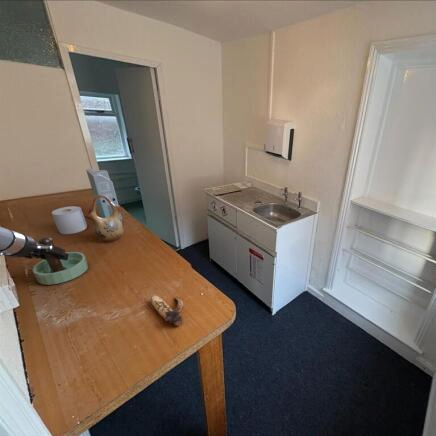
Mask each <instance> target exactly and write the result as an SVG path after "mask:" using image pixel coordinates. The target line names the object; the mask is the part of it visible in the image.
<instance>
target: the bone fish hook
mask: <svg viewBox="0 0 436 436" xmlns="http://www.w3.org/2000/svg"><path fill="white" fill-rule="evenodd" d="M174 300H175V301H176V302H177V306H176V307H175V308H174V309H173V308H171V306H170V305H169V304H168V303H166V302H165V301H164V299H162V298H161V297H159V295H157V294H154V295H152V296H151V297H150V303H151V305H152V306H153V307H154V309H155V310H156V311H157V313H158V314H159V315H160V316H161V317H162V318H163V319H164V322H167V323H169V324H171V325H172V324H173V325H174V326H175V327H179V326H181V325H182V322H183V320H182V317H183V316H182V315H180V313H181V312H182V311H183V308H184V302H183V300H182V299H180V298H179V297H174Z"/></svg>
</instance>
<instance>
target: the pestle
mask: <svg viewBox="0 0 436 436" xmlns="http://www.w3.org/2000/svg"><path fill="white" fill-rule="evenodd" d="M37 243H38V244H41V245H45V246H47V245H49V244H54V241H53V239H52V238H51V237H49V236H43V237H40V238H39V240H38V242H37ZM44 256H45V258H46V260H47V263H48V265H49V267H50V269H51V271H50V273H55V272H59V271H62V270H65V269H67V268H66V267H63V265H62V263H61V260H60V259H56V258H55V256H49V255H44Z"/></svg>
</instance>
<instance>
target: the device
mask: <svg viewBox="0 0 436 436" xmlns="http://www.w3.org/2000/svg"><path fill="white" fill-rule="evenodd" d="M85 171H86V175H87V177H88V180H89V184H90V187H91V190H92V194H93V197H94V198H95V197H97V196H99V195H103V196H106V197H108V198H109V199H110V201H111V202H112V203H113V204H114V205H116V206H119V207H120V205H119V202H118V198H117V194H116V190H115V186H114V184H113V183H114V181H112V180H111V178H110V176H109V171H108V170H106V169H99V170H96V169H93V168H88V169H85ZM94 198H93V199H94ZM96 207H97V210H98V213H99V217H100V218H107V217H109V216H111V215H112V213H113V210H112V207H111V205H110V204H109V202H108V201H107V200H106V199H105V198H98V199H97V200H96ZM119 219H120V221H121V222H122V223H123V217H122V213H121V212H120V214H119Z"/></svg>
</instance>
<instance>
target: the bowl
mask: <svg viewBox="0 0 436 436" xmlns="http://www.w3.org/2000/svg"><path fill="white" fill-rule="evenodd" d="M66 253H67V254H69V255H68V260H66V261H65V260H62V259H60V260H61V263H62V265H63V267H66V268H67V269H65V270H62V271H59V272H55V273H50V271H51V269H50V267H49V265H48V263H47V260H44V259H41V261H39V262H38V263H36V264H35V265H34V266H33V267H32V272H33V274H34V277H35V278H36V281H37V282H38V284H40V285H48V286H49V285H50V286H51V285H57V284H62V283H65V282H66V283H67V282H69V281H71V280H74V279H76V278H77V277H80V276H81V275H82V274H84V273H85V272H86V271H87V270H88V269H89V264H88V261H87V257H86V255H85V254H84V253H82V252H79V251H69V252H66Z"/></svg>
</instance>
